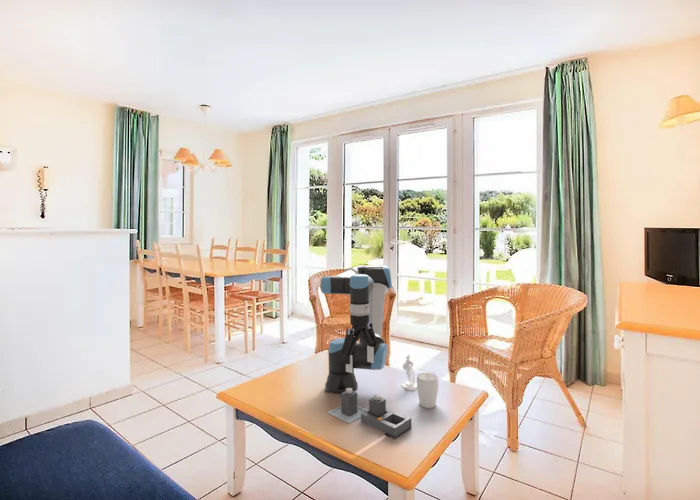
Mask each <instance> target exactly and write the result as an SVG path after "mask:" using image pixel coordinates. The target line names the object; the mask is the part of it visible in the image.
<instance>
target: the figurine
mask: <svg viewBox="0 0 700 500" xmlns="http://www.w3.org/2000/svg"><path fill="white" fill-rule="evenodd" d="M410 356H411V355H410V354H407V356H405V357H406V360H405V362H404V363H402V364H403V365H402V369H403V370H405V374H406V376H407V378H408V381H403V382H402V383H401V386H400V387H401V388H402V389H403V390H406V391H416V390H417V381H416V382H415V372H414V369H413V367H414V362H413V361H412V360H410V359H411V357H410ZM417 391H418V390H417Z"/></svg>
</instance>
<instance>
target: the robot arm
mask: <svg viewBox="0 0 700 500" xmlns="http://www.w3.org/2000/svg"><path fill="white" fill-rule="evenodd" d="M392 283H393V281H392V274H391V269H390V266H389V265H382V264H380V265H364V264H363V265H361V264H360V265H356V266H351V267H348V268H346V269H344V270H343V271H342V273H338V274H336V275H331V276H330V275H328V276H325V275H324V276H322V277H321V279H320V285H319V286H320V291H321V293H322V294H325V295H326V294H327V295H349V300H350V301H349V313H350V316H349V317H350V318H349V322H350V325H351V328H346V331H345V337H340V338H336V339H333V340H331V341H330V342H329V343H328V352H327V353H328V374H327V377H326V381H325V384H324V390H325V392H326V391H327V392H328V393H331V394H334V395H341V393H343V392H345V391H346V389H347V388H352V391H353V392H356V391H357V390H358V389H359V387H358V386H359V384H358V382H357V378H356V374H355V369H357V370H358V369H359V370H371V371H379V370H380V371H381V370H383V368H384V367H385V365H386V361H387V357H388V345H387V344H386V343H385V340H384V338H383V337H382V336H383V335H382V334H383V324H384V312H385V310H384V309H385V301H386V300H385V298H386V297H385V296H386V294H388V292H389V289H392V287H393V285H392ZM358 341H359V342H358ZM327 392H326V393H327ZM328 393H327V394H328Z"/></svg>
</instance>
